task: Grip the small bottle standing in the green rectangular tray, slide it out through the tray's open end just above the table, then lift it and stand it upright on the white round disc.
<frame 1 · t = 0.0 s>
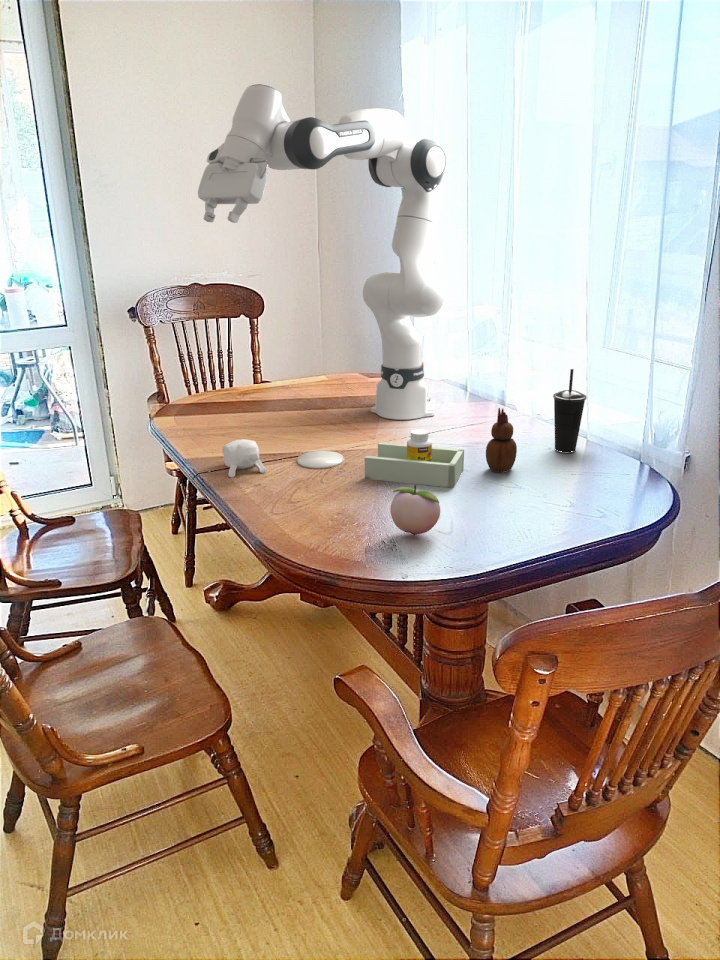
hand: (219, 221, 157), 54 cm above the table, tool tilted 30°, fingers open, 8 cm apart
white round disc: (320, 460, 175), on the table
drinking cup: (565, 450, 179), on the table
wooden figurine: (500, 470, 167), on the table
green rectangular tray: (414, 474, 165), on the table
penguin: (245, 472, 169), on the table
supplement bottle: (419, 475, 165), resting in green rectangular tray
decorative fruit: (414, 537, 135), on the table
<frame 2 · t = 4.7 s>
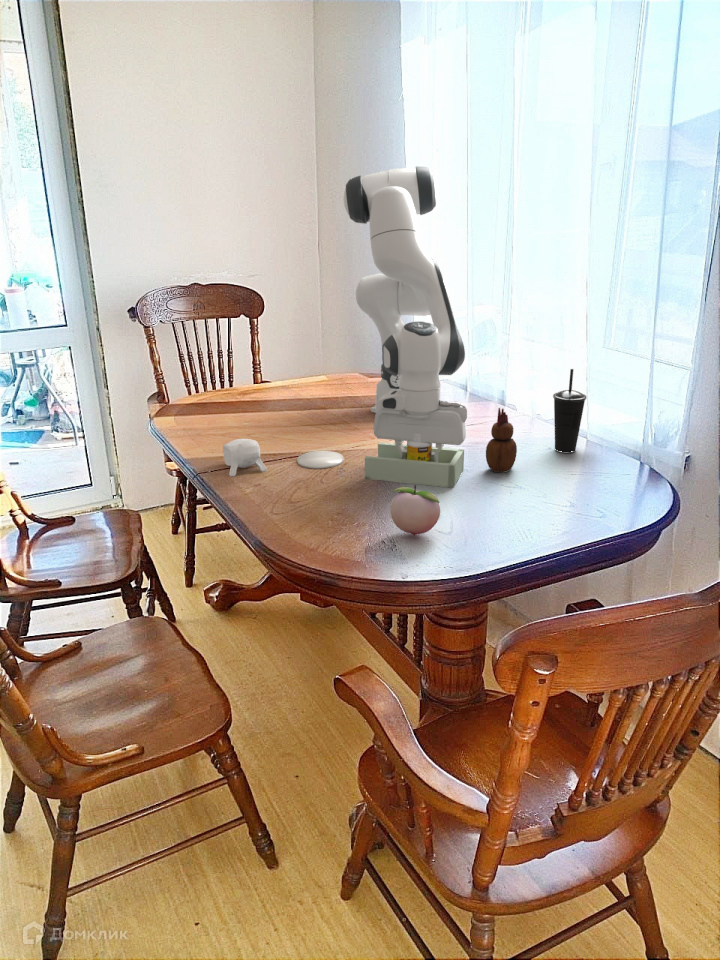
hand: (419, 459, 163), 4 cm above the table, tool pointing down, fingers closed on supplement bottle, 5 cm apart
supplement bottle: (419, 475, 165), resting in green rectangular tray, touching gripper
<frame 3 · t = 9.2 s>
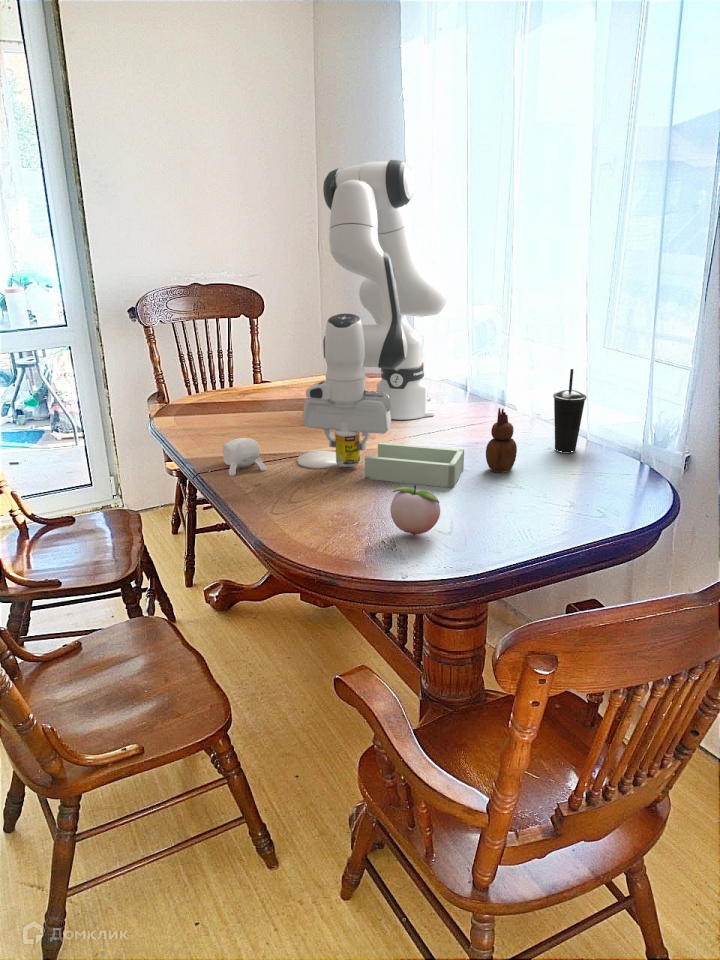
hand: (347, 448, 168), 5 cm above the table, tool pointing down, fingers closed on supplement bottle, 5 cm apart
supplement bottle: (348, 464, 170), point 1 cm above the table, touching gripper
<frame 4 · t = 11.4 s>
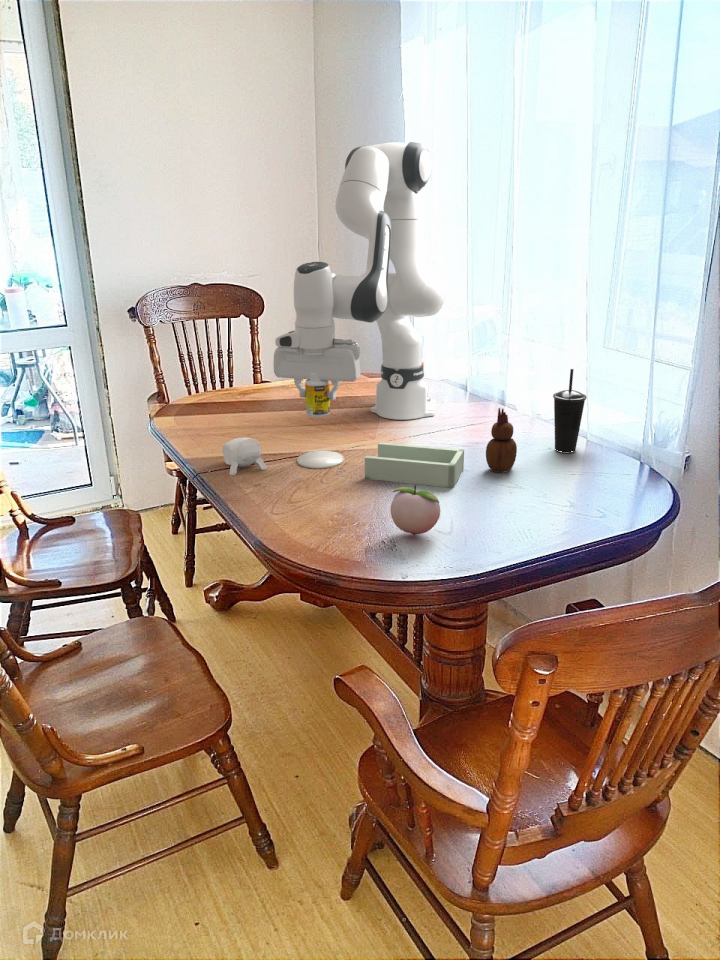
hand: (317, 398, 169), 15 cm above the table, tool pointing down, fingers closed on supplement bottle, 5 cm apart
supplement bottle: (318, 415, 171), point 11 cm above the table, touching gripper
when the fingers open (6 cm above the table, at t = 13.5 s): supplement bottle stays where it is, resting on white round disc.
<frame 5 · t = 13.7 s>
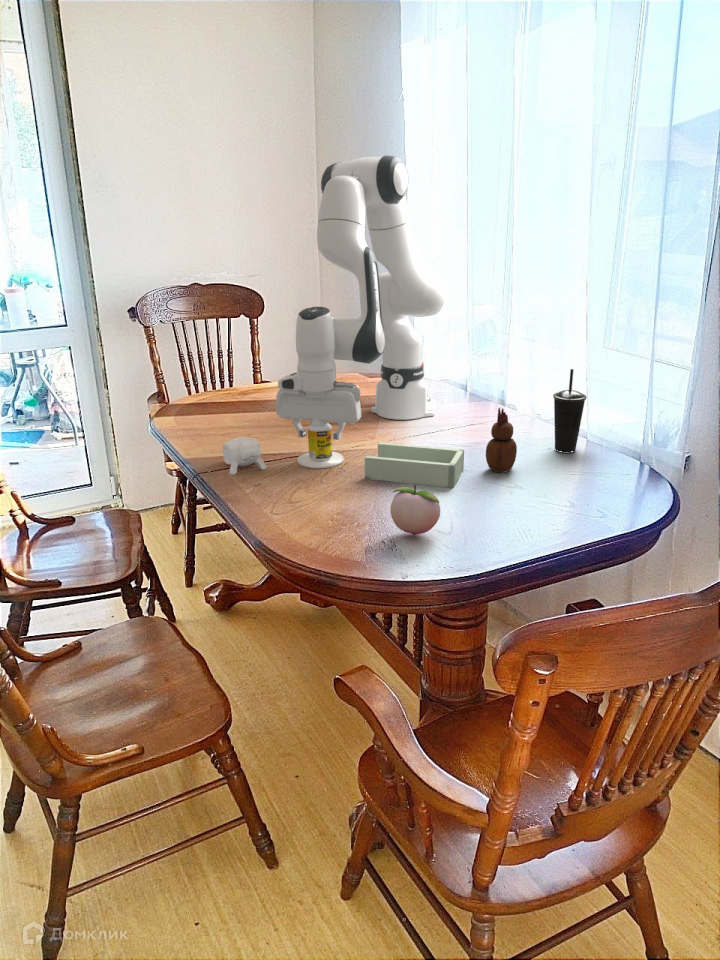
hand: (319, 438, 173), 6 cm above the table, tool pointing down, fingers open, 8 cm apart
supplement bottle: (320, 458, 175), resting on white round disc
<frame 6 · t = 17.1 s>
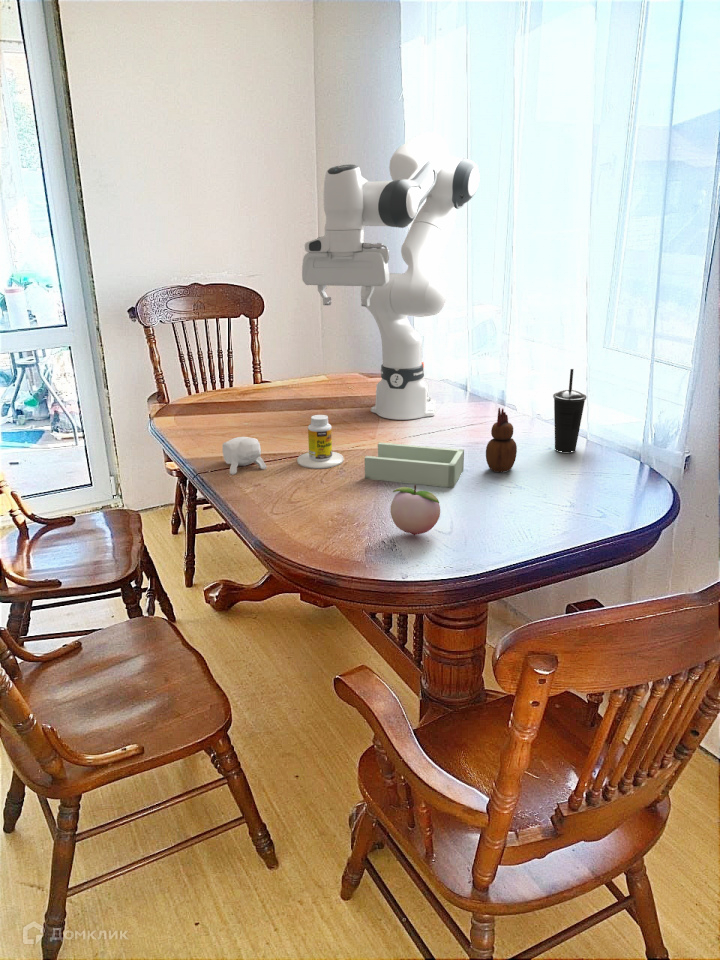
hand: (346, 305, 170), 35 cm above the table, tool pointing down, fingers open, 8 cm apart
at the end: supplement bottle 0.1 cm from the white round disc (horizontally); supplement bottle tilted 0°; supplement bottle resting on white round disc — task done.
